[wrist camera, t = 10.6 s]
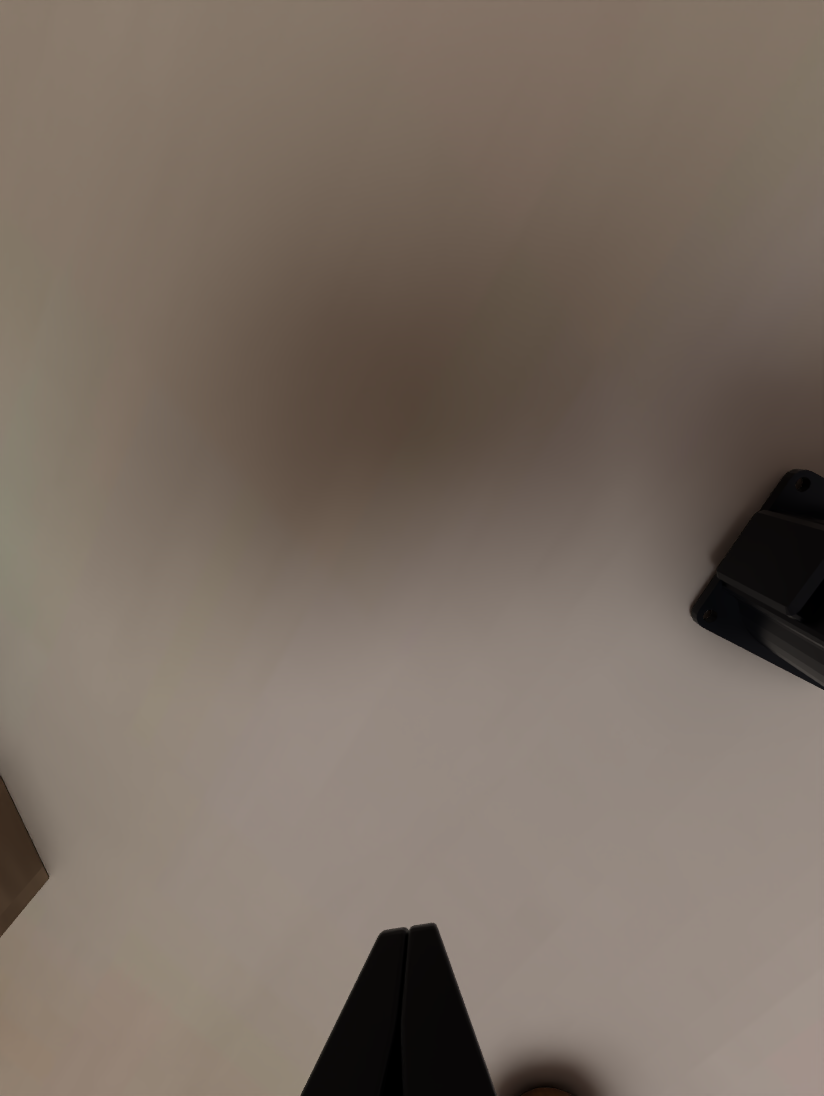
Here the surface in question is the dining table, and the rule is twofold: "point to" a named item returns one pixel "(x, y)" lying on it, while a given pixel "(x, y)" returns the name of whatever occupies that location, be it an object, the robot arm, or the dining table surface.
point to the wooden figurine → (546, 1092)
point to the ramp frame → (16, 863)
